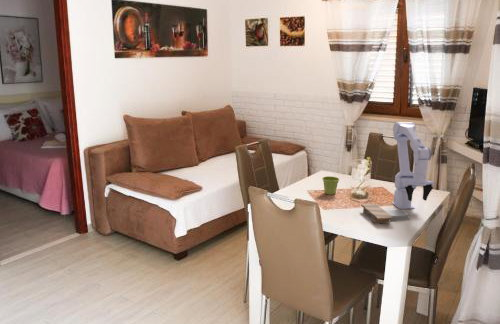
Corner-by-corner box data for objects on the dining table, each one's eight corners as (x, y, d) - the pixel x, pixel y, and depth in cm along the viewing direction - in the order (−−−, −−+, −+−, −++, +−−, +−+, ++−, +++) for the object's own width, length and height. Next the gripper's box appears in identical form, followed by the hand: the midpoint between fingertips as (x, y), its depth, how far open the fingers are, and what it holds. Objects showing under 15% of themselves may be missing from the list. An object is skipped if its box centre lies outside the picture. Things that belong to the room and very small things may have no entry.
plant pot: (339, 196, 251) (340, 181, 249) (322, 195, 251) (323, 180, 249) (337, 191, 260) (337, 176, 258) (320, 190, 260) (321, 176, 258)
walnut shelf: (360, 210, 227) (361, 204, 227) (374, 210, 229) (375, 203, 228) (377, 225, 208) (377, 218, 207) (392, 224, 209) (393, 217, 208)
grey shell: (381, 214, 223) (382, 210, 222) (400, 213, 224) (401, 209, 224) (388, 220, 215) (389, 216, 215) (408, 219, 217) (409, 215, 216)
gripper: (410, 175, 210) (407, 203, 214) (438, 174, 212) (435, 202, 216) (402, 171, 217) (400, 198, 220) (430, 170, 219) (427, 197, 222)
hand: (417, 200), depth 218 cm, fingers open, 7 cm apart
